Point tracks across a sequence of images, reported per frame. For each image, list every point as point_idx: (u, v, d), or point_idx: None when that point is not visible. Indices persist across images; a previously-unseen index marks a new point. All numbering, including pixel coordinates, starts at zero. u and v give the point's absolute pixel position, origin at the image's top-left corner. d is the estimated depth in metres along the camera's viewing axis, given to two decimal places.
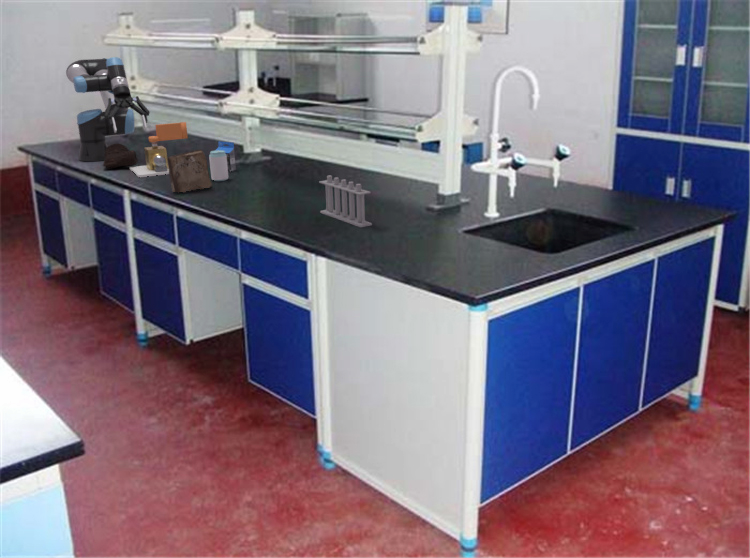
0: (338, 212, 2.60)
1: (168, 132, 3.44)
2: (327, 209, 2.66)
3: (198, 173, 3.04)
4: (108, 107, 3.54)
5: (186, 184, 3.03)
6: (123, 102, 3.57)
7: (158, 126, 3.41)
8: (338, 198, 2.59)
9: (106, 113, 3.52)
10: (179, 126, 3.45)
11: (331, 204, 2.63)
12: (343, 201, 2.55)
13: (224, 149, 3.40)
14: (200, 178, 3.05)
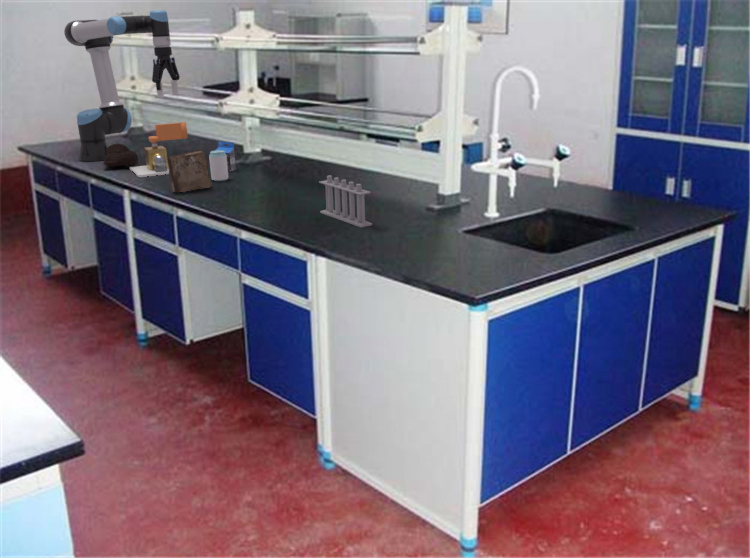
0: (338, 212, 2.60)
1: (168, 132, 3.44)
2: (327, 209, 2.66)
3: (198, 173, 3.04)
4: (158, 70, 3.45)
5: (186, 184, 3.03)
6: (166, 63, 3.50)
7: (158, 126, 3.41)
8: (338, 198, 2.59)
9: (157, 78, 3.45)
10: (179, 126, 3.45)
11: (331, 204, 2.63)
12: (343, 201, 2.55)
13: (224, 149, 3.40)
14: (200, 178, 3.05)
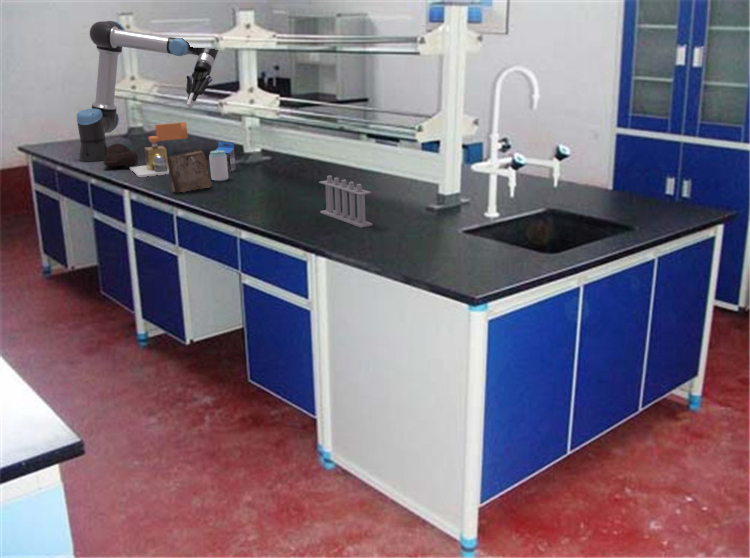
0: (338, 212, 2.60)
1: (168, 132, 3.44)
2: (327, 209, 2.66)
3: (198, 173, 3.04)
4: None
5: (186, 184, 3.03)
6: None
7: (158, 126, 3.41)
8: (338, 198, 2.59)
9: None
10: (179, 126, 3.45)
11: (331, 204, 2.63)
12: (343, 201, 2.55)
13: (224, 149, 3.40)
14: (200, 178, 3.05)
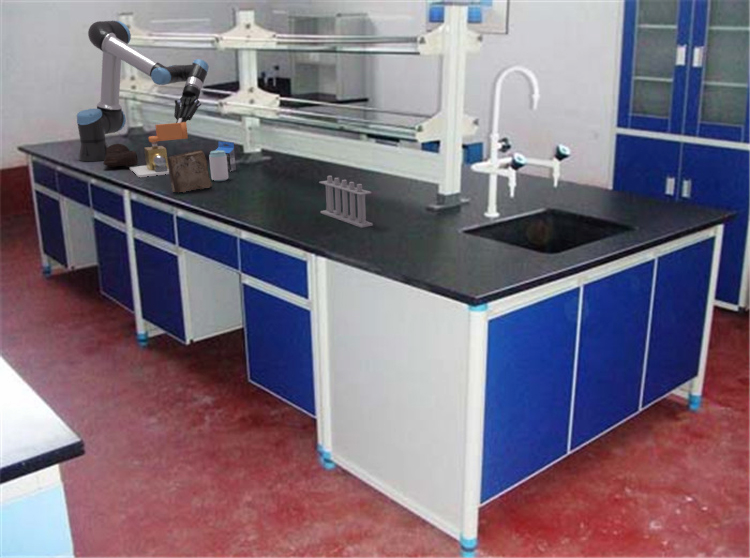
0: (338, 212, 2.60)
1: (168, 132, 3.44)
2: (327, 209, 2.66)
3: (198, 173, 3.04)
4: None
5: (186, 184, 3.03)
6: None
7: (158, 126, 3.41)
8: (338, 198, 2.59)
9: None
10: (179, 126, 3.45)
11: (331, 204, 2.63)
12: (344, 201, 2.55)
13: (224, 149, 3.40)
14: (200, 178, 3.05)
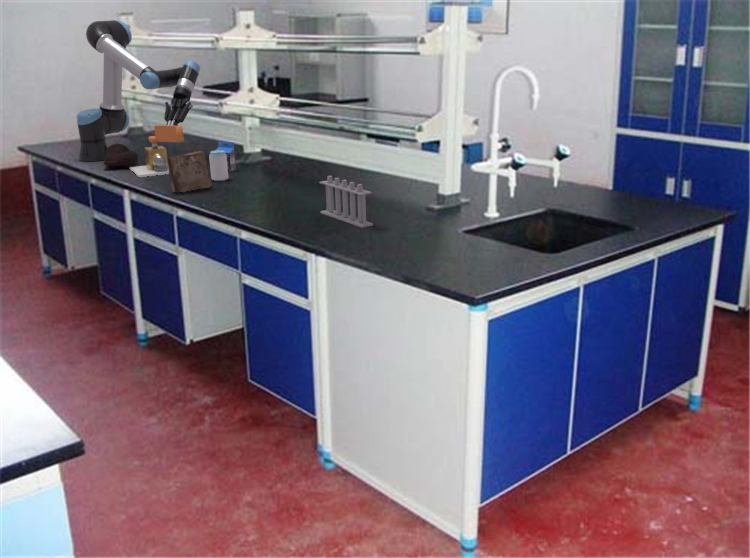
0: (339, 212, 2.60)
1: (165, 134, 3.39)
2: (327, 209, 2.65)
3: (198, 173, 3.04)
4: None
5: (186, 184, 3.03)
6: None
7: (156, 127, 3.40)
8: (339, 198, 2.58)
9: None
10: (174, 129, 3.37)
11: (332, 204, 2.63)
12: (344, 201, 2.55)
13: (224, 149, 3.40)
14: (200, 178, 3.05)
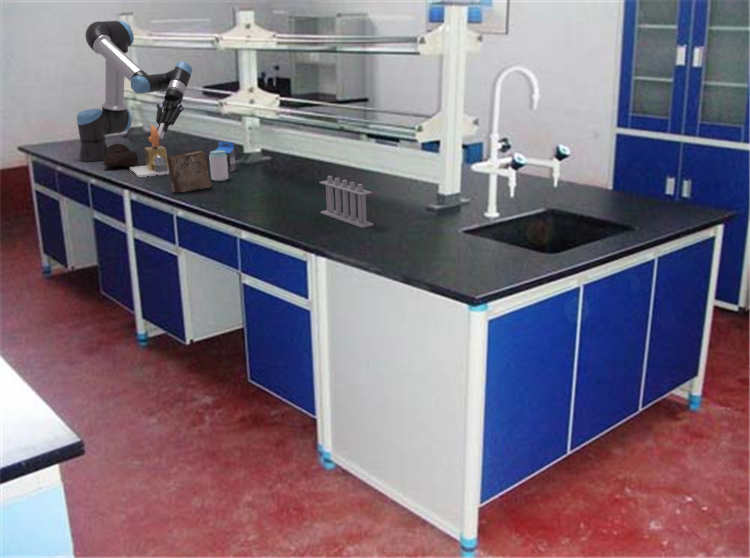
0: (339, 212, 2.60)
1: None
2: (327, 209, 2.65)
3: (198, 173, 3.04)
4: None
5: (186, 184, 3.03)
6: None
7: None
8: (339, 198, 2.58)
9: None
10: None
11: (332, 204, 2.63)
12: (344, 201, 2.55)
13: (224, 149, 3.40)
14: (200, 178, 3.05)
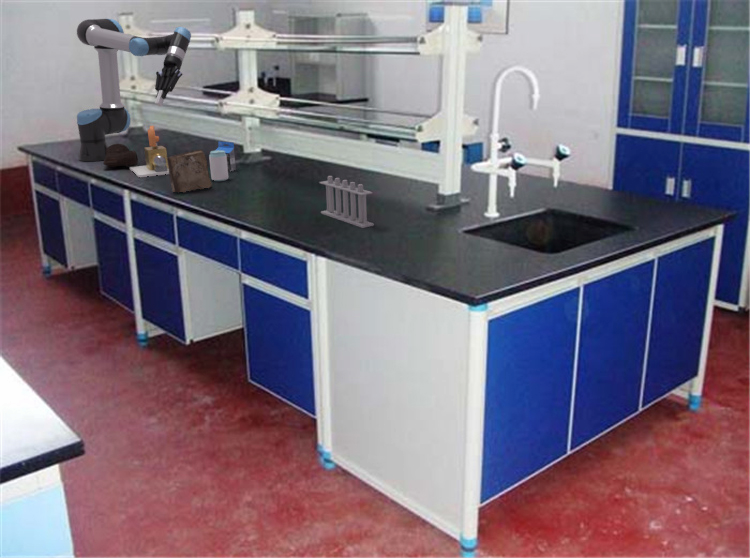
0: (339, 213, 2.60)
1: None
2: (328, 210, 2.65)
3: (198, 173, 3.04)
4: None
5: (186, 184, 3.03)
6: None
7: (150, 127, 3.39)
8: (339, 198, 2.58)
9: None
10: None
11: (332, 204, 2.62)
12: (344, 202, 2.55)
13: (224, 149, 3.40)
14: (200, 178, 3.05)
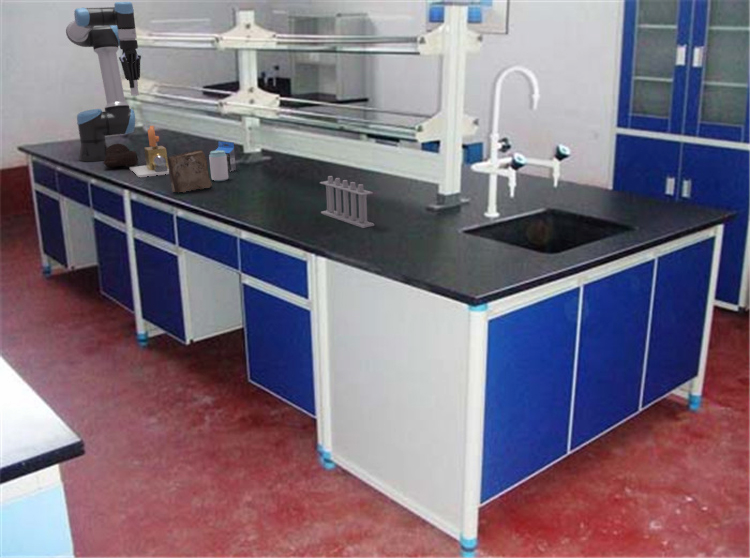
0: (339, 213, 2.60)
1: None
2: (328, 210, 2.65)
3: (198, 173, 3.04)
4: (128, 68, 3.35)
5: (186, 184, 3.03)
6: None
7: (150, 127, 3.39)
8: (339, 198, 2.58)
9: (130, 75, 3.37)
10: None
11: (332, 204, 2.62)
12: (345, 202, 2.55)
13: (224, 149, 3.40)
14: (200, 178, 3.05)
